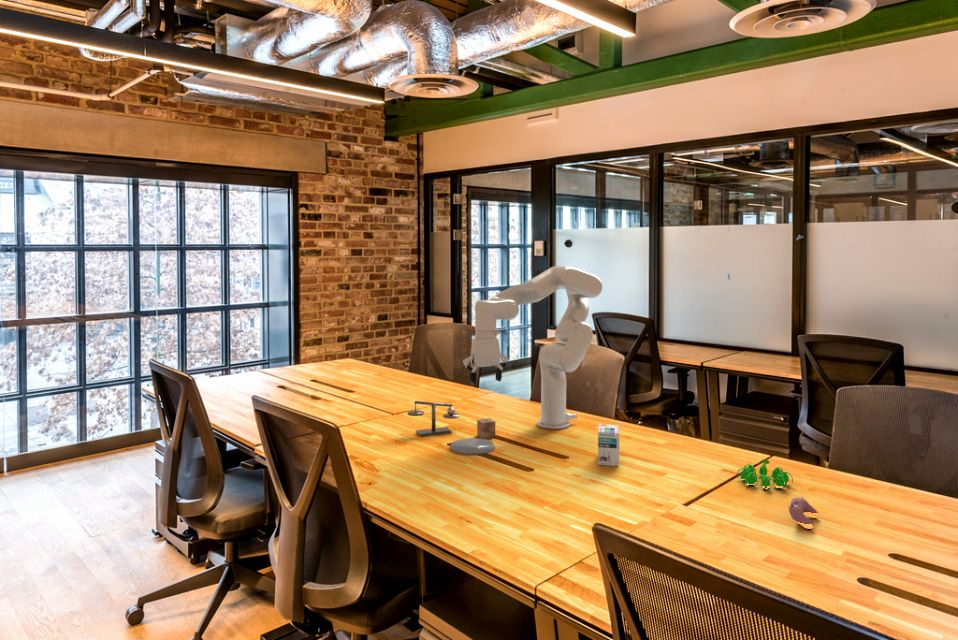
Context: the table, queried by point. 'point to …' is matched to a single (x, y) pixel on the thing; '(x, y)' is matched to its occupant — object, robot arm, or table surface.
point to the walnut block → (486, 428)
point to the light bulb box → (608, 445)
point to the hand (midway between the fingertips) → (486, 381)
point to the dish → (472, 446)
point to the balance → (434, 418)
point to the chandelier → (764, 475)
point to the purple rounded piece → (800, 510)
